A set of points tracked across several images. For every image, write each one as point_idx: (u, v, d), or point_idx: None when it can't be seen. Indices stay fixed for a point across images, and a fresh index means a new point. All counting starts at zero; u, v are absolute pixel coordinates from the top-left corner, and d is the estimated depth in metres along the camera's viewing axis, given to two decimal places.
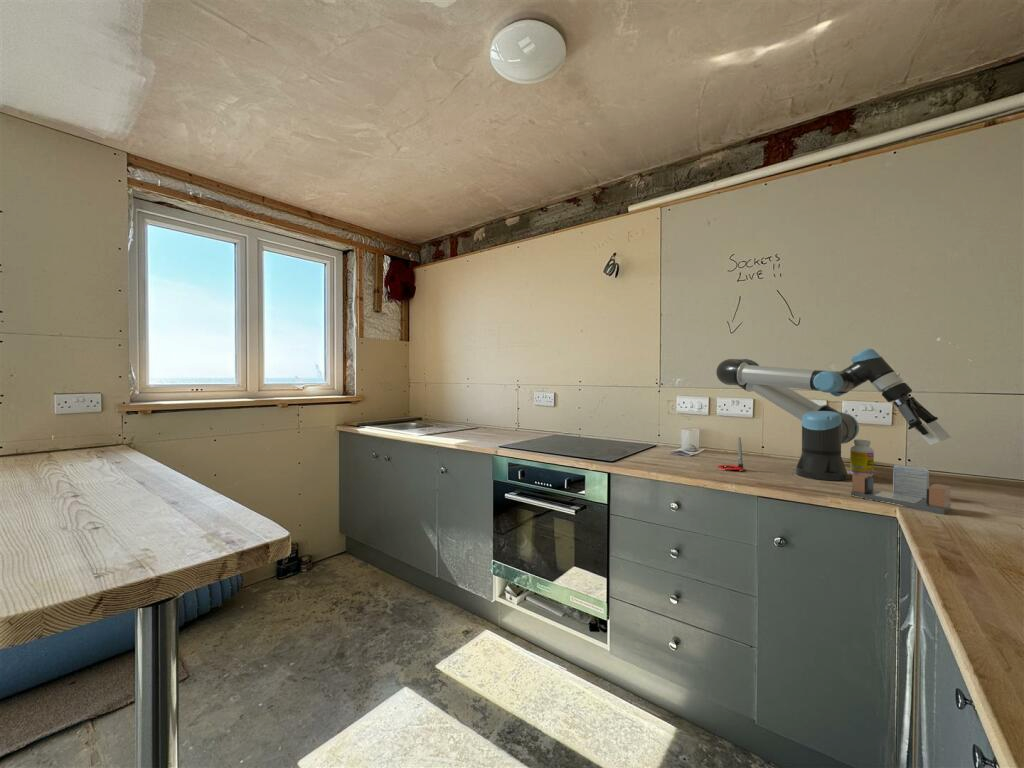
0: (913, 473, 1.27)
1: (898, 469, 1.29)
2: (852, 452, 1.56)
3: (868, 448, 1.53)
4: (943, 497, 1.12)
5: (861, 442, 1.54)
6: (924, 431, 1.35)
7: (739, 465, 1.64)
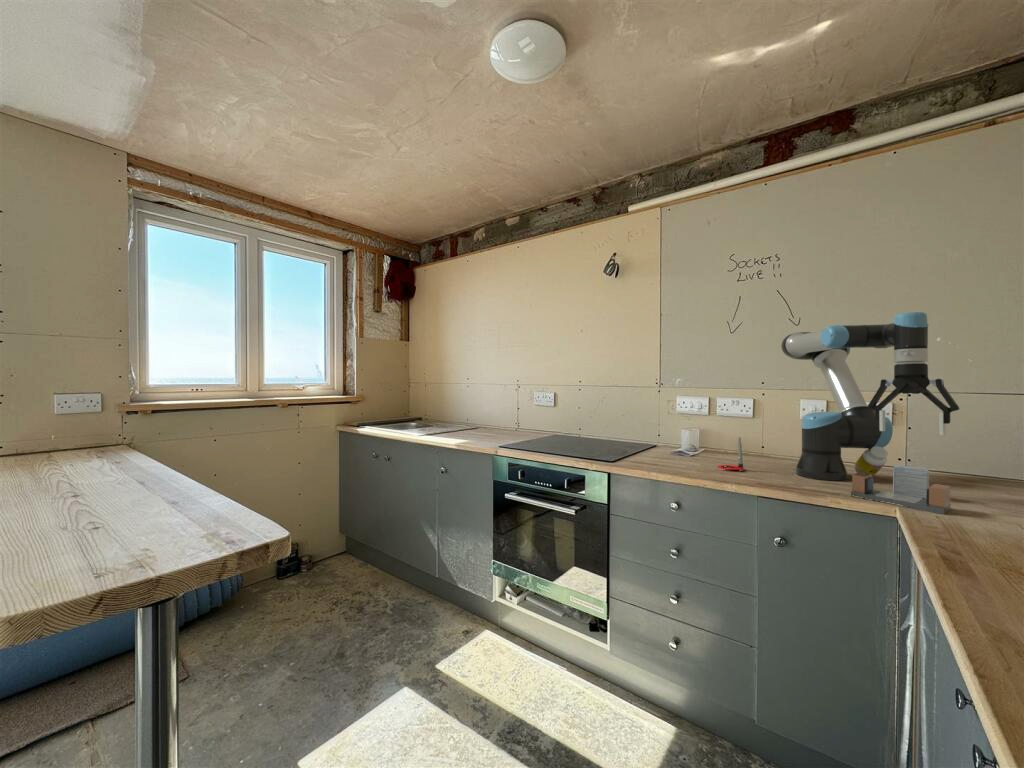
0: (913, 473, 1.27)
1: (898, 469, 1.29)
2: (862, 456, 1.51)
3: (879, 461, 1.46)
4: (943, 497, 1.12)
5: (874, 455, 1.46)
6: None
7: (739, 465, 1.64)
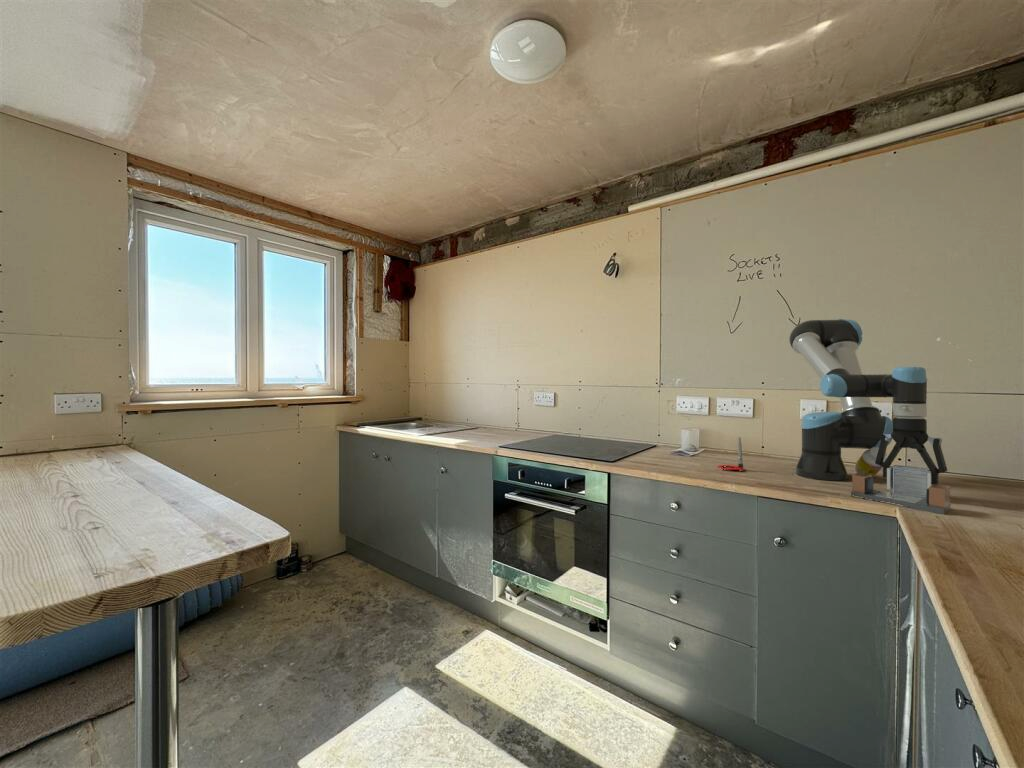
0: (912, 473, 1.27)
1: (898, 469, 1.29)
2: (861, 456, 1.51)
3: None
4: (943, 497, 1.12)
5: (872, 456, 1.46)
6: None
7: (739, 465, 1.64)
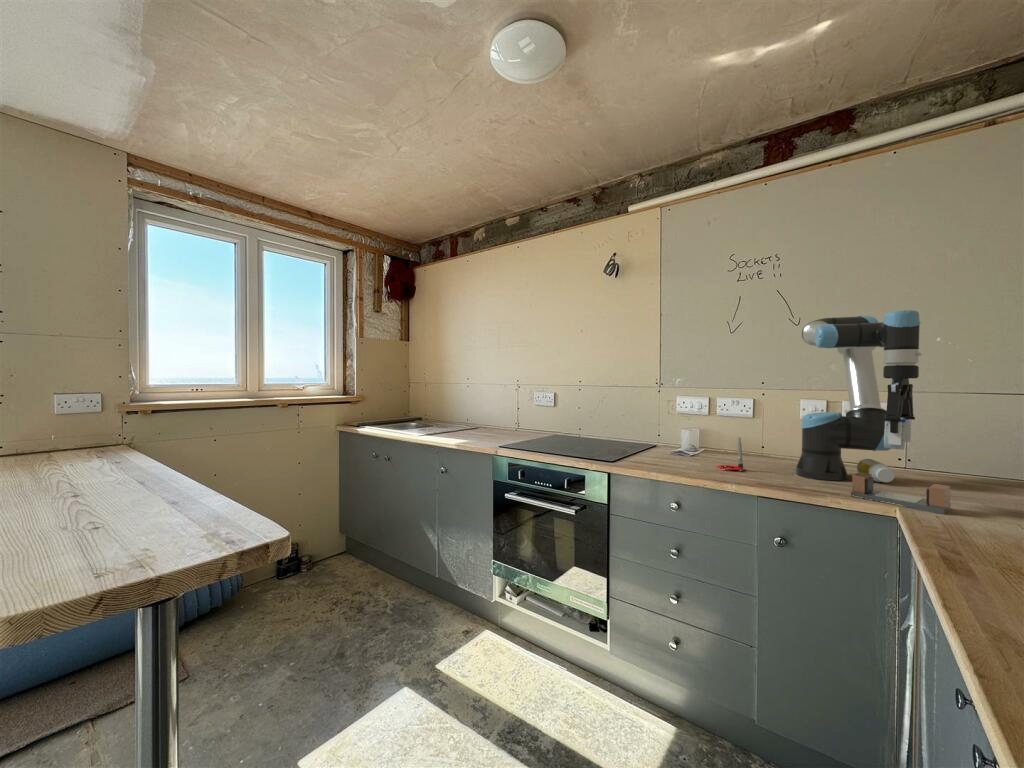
0: None
1: (905, 421, 1.19)
2: (867, 470, 1.46)
3: (882, 481, 1.44)
4: (943, 497, 1.12)
5: (878, 479, 1.42)
6: (894, 430, 1.18)
7: (739, 465, 1.64)
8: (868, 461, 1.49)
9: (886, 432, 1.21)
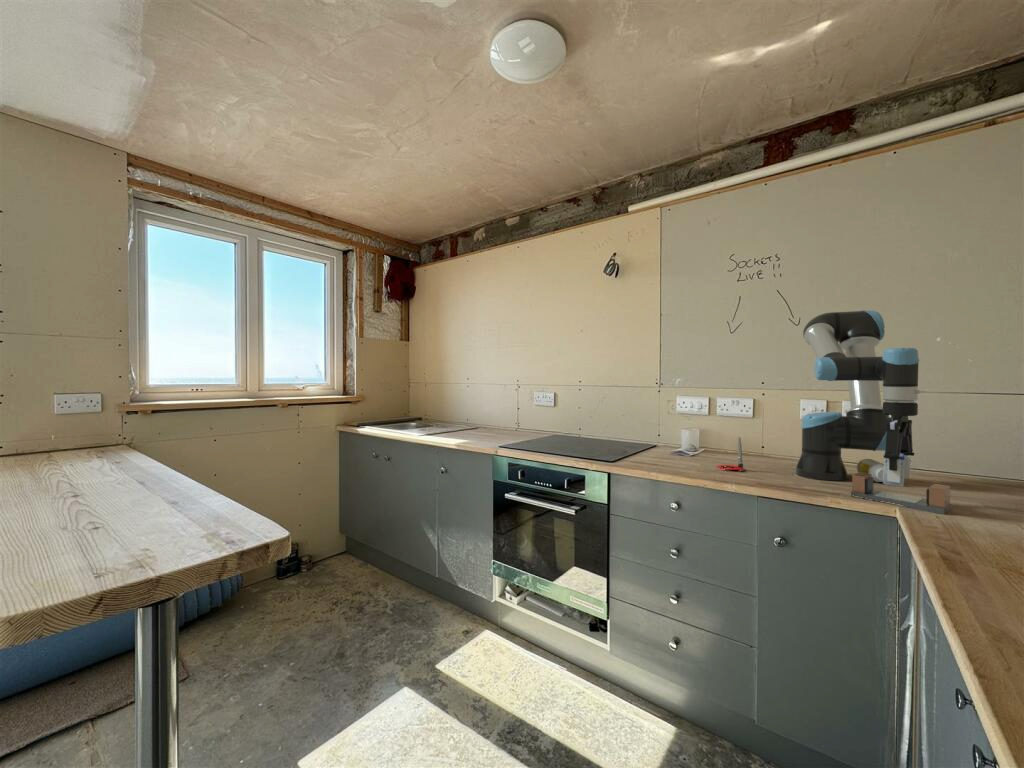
0: None
1: (904, 458, 1.19)
2: (867, 470, 1.46)
3: (882, 481, 1.44)
4: (943, 497, 1.12)
5: (878, 479, 1.42)
6: (893, 467, 1.18)
7: (739, 465, 1.64)
8: (868, 461, 1.49)
9: (885, 469, 1.21)
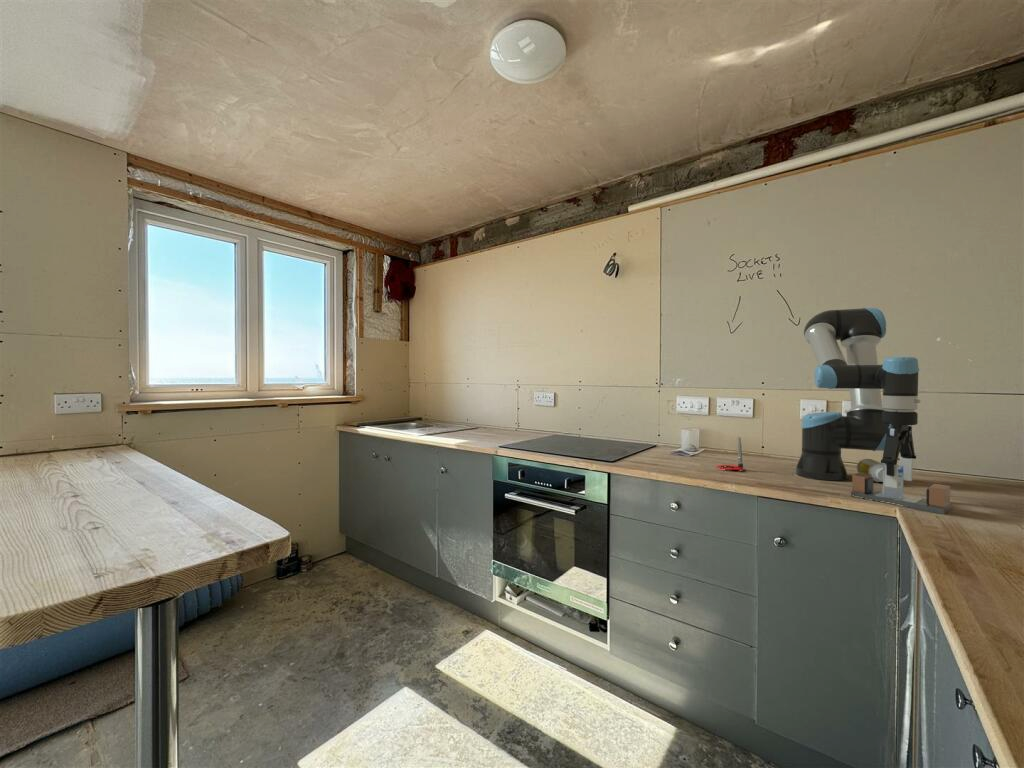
0: None
1: None
2: (867, 470, 1.46)
3: (882, 481, 1.44)
4: (943, 497, 1.12)
5: (878, 479, 1.42)
6: (891, 472, 1.17)
7: (739, 465, 1.64)
8: (868, 461, 1.49)
9: (884, 481, 1.22)
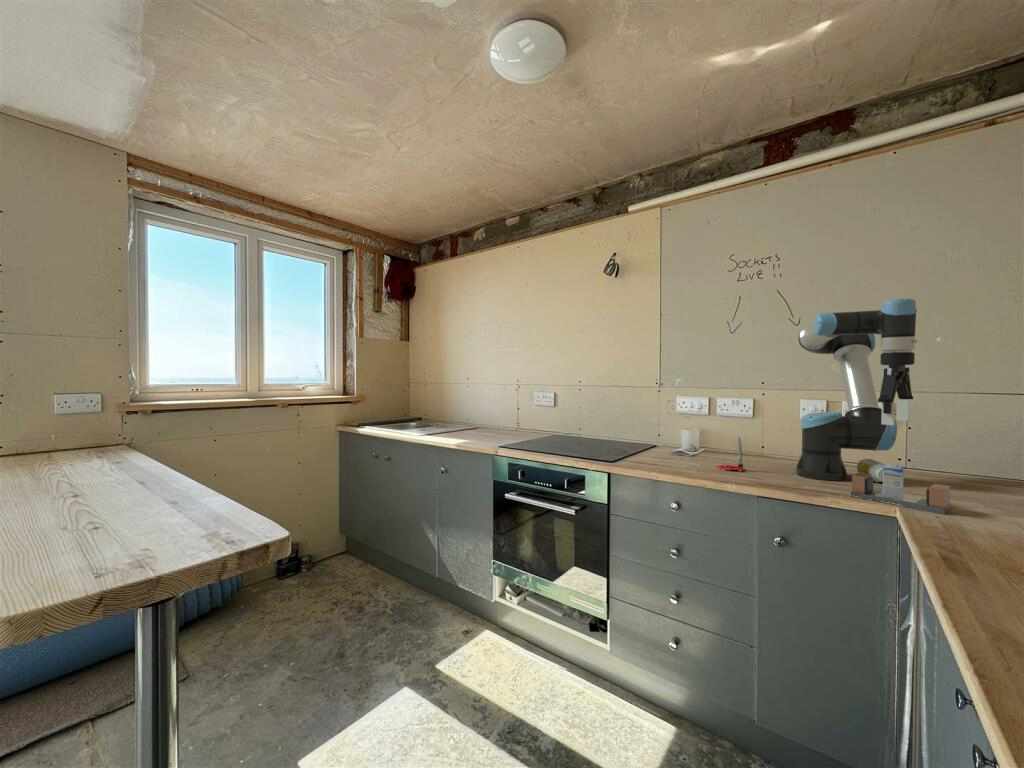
0: None
1: None
2: (867, 470, 1.46)
3: (882, 481, 1.44)
4: (943, 497, 1.12)
5: (878, 479, 1.42)
6: (887, 410, 1.22)
7: (739, 465, 1.64)
8: (868, 461, 1.49)
9: (884, 481, 1.22)
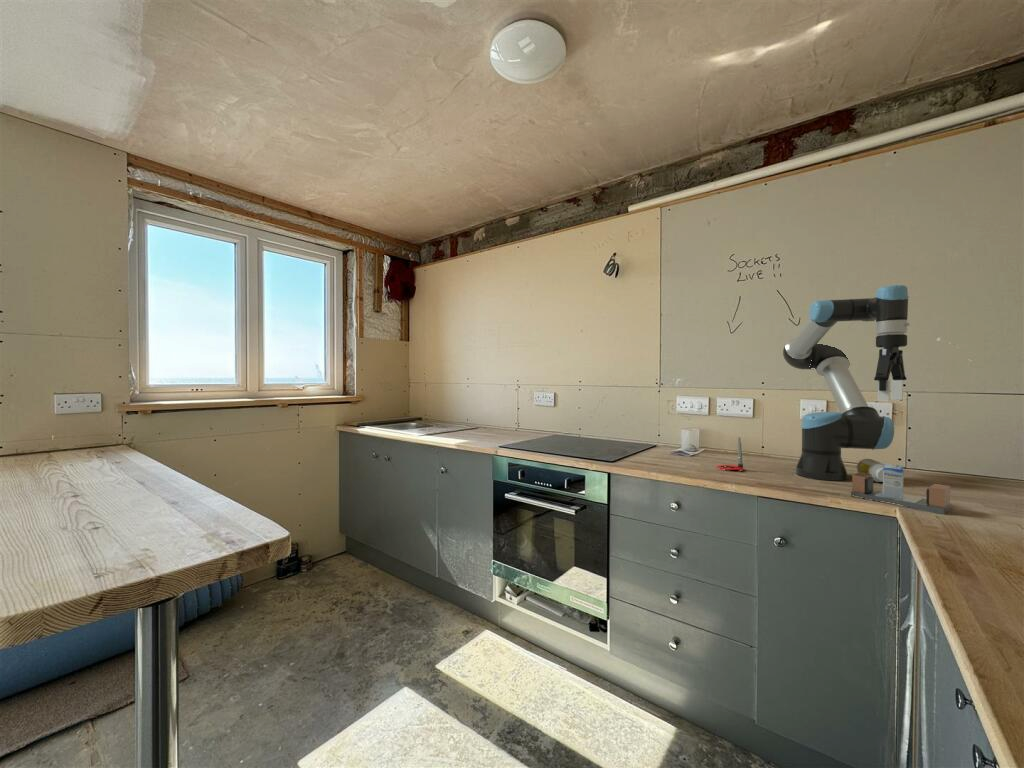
0: None
1: None
2: (867, 470, 1.46)
3: (882, 481, 1.44)
4: (943, 497, 1.12)
5: (878, 479, 1.42)
6: (883, 388, 1.31)
7: (739, 465, 1.64)
8: (868, 461, 1.49)
9: (884, 481, 1.22)
